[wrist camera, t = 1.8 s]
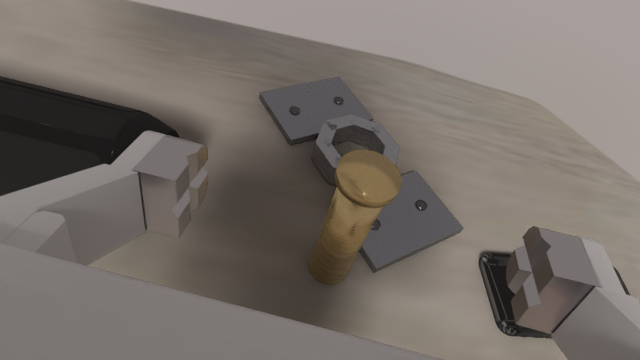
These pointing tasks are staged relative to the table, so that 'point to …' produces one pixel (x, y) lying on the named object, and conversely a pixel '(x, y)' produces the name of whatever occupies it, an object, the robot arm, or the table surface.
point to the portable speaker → (61, 133)
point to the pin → (353, 211)
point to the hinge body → (356, 126)
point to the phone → (507, 295)
